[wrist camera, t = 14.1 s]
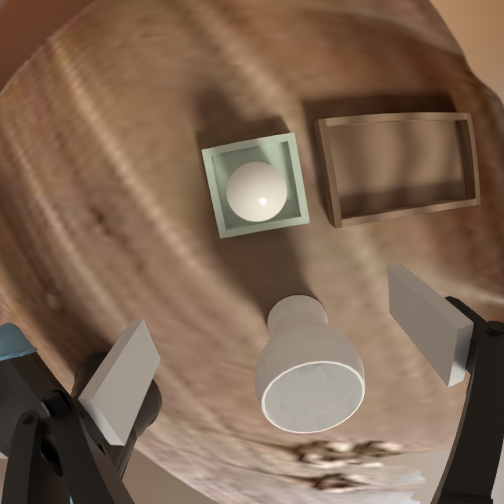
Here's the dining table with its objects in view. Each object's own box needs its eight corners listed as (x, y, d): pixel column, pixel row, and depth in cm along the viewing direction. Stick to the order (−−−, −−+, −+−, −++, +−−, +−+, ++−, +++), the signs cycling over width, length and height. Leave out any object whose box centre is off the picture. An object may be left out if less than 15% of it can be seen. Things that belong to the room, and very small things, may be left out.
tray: (329, 222, 35) (335, 228, 32) (313, 122, 32) (317, 119, 29) (467, 200, 34) (480, 204, 31) (458, 115, 30) (470, 113, 28)
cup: (240, 331, 40) (231, 413, 25) (287, 268, 37) (304, 334, 23) (304, 365, 41) (319, 446, 27) (352, 309, 38) (393, 381, 24)
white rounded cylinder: (240, 208, 34) (232, 226, 25) (231, 166, 33) (220, 168, 24) (282, 200, 34) (291, 215, 25) (274, 158, 33) (281, 157, 23)
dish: (222, 233, 36) (220, 238, 33) (205, 150, 33) (201, 149, 31) (306, 218, 35) (309, 222, 33) (291, 134, 32) (294, 132, 30)
